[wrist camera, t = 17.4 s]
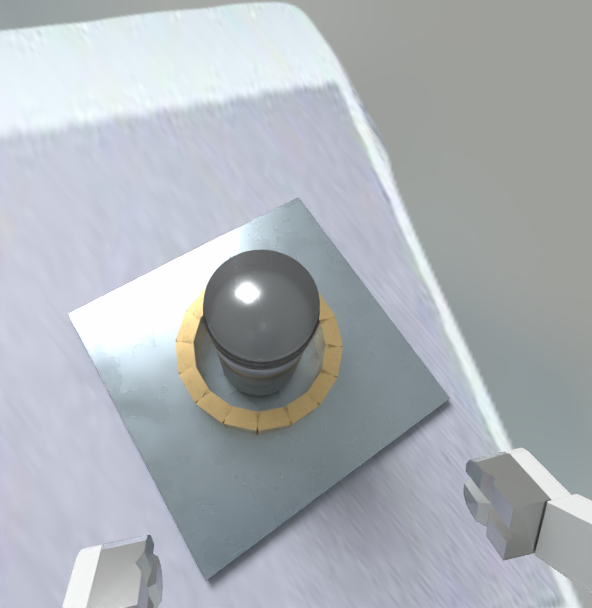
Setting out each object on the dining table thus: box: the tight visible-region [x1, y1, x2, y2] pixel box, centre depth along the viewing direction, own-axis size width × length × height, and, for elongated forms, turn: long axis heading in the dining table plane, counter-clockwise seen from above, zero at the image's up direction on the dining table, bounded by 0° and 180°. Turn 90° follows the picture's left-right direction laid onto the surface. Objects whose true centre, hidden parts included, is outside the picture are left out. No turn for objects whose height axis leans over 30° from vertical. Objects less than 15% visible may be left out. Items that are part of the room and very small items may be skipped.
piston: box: [203, 249, 320, 396], centre depth 23 cm, size 5×5×10 cm
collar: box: [69, 197, 450, 580], centre depth 26 cm, size 18×18×4 cm
